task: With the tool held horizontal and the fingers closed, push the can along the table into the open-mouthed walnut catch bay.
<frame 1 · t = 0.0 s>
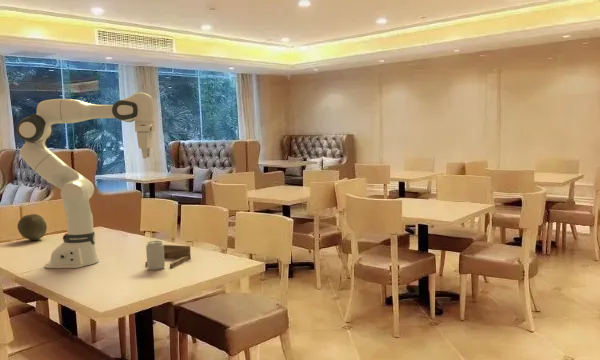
hand: (146, 157, 236), 48 cm above the table, tool pointing down, fingers open, 8 cm apart
catch bay: (168, 262, 234), on the table
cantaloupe: (33, 240, 289), on the table
can: (156, 268, 224), on the table
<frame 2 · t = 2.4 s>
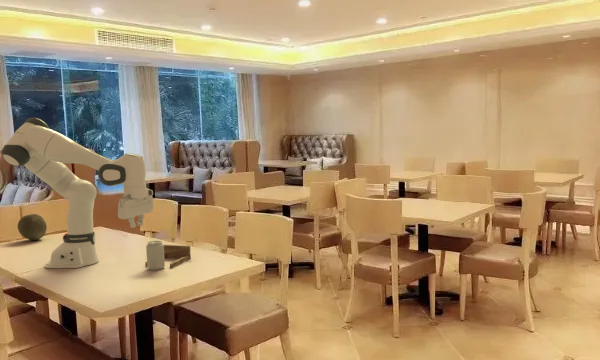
hand: (136, 226, 209), 21 cm above the table, tool pointing down, fingers open, 3 cm apart
nothing on the table moved.
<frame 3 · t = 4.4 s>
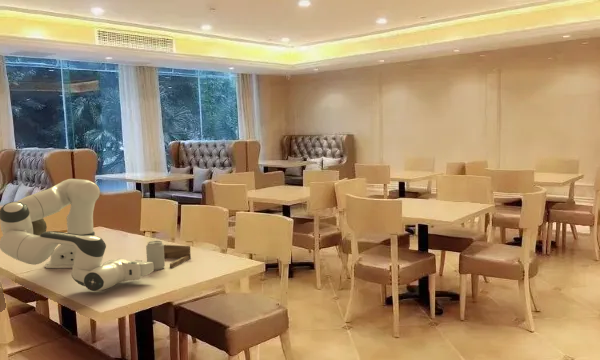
hand: (139, 262, 211), 6 cm above the table, tool horizontal, fingers closed
nothing on the table moved.
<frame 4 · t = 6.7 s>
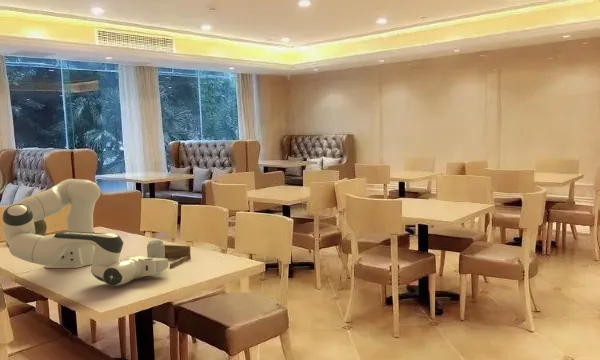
hand: (154, 258, 220), 5 cm above the table, tool horizontal, fingers closed
can: (156, 268, 224), on the table, touching gripper
everything else where it was.
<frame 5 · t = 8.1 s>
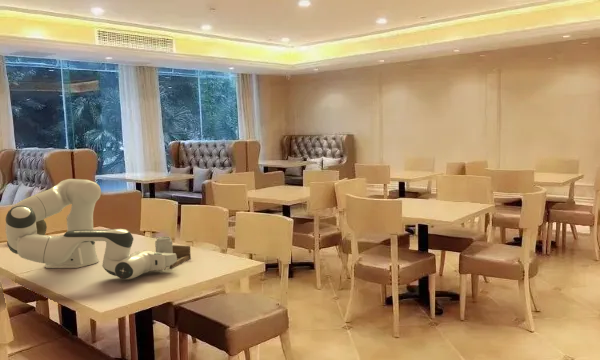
hand: (162, 253, 227), 5 cm above the table, tool horizontal, fingers closed
can: (164, 263, 232), on the table, touching gripper
everything else where it was.
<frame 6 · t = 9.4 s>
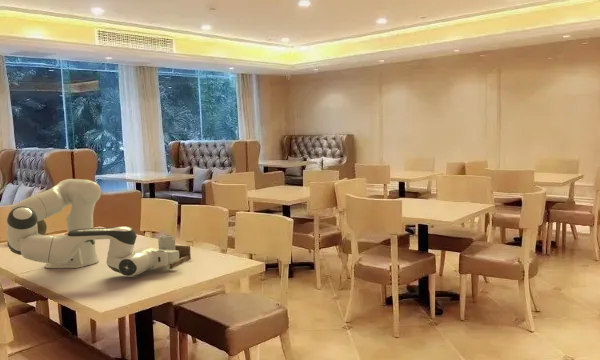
hand: (165, 250, 231), 6 cm above the table, tool horizontal, fingers closed
can: (167, 261, 235), on the table, touching gripper
everything else where it was.
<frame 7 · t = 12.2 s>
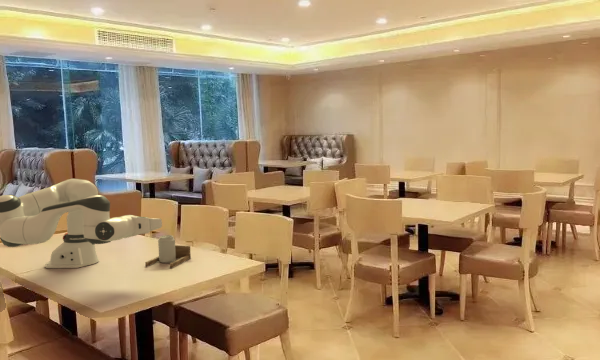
hand: (147, 222, 217), 22 cm above the table, tool horizontal, fingers closed
can: (167, 262, 235), on the table
everything else where it was.
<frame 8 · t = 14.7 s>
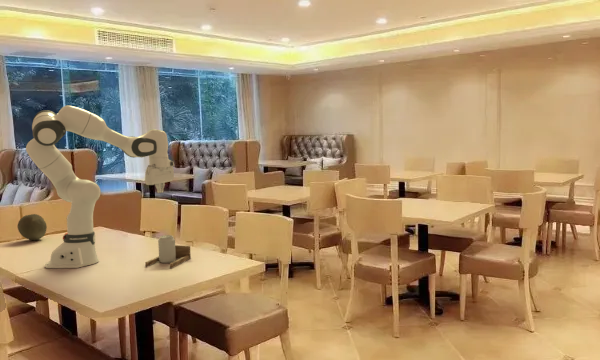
hand: (160, 192, 243), 31 cm above the table, tool pointing down, fingers closed
nothing on the table moved.
at the end: can 1.3 cm from the catch bay (horizontally); can tilted 0°; can moved 11.9 cm from its start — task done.
